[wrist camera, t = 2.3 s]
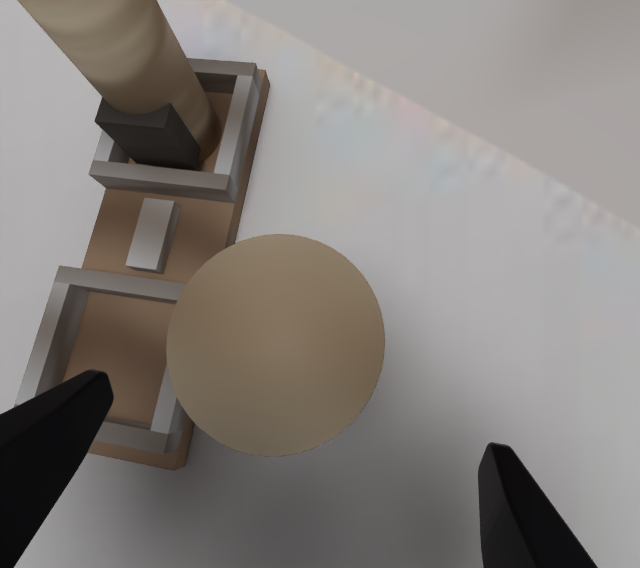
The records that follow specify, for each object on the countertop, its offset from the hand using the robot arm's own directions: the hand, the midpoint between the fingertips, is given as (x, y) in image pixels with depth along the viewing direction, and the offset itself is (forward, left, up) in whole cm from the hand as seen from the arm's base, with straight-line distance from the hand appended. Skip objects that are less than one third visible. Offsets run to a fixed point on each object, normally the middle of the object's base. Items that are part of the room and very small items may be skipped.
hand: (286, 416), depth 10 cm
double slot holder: (+10, +6, -10) cm, 16 cm away
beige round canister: (+1, -1, -10) cm, 11 cm away
